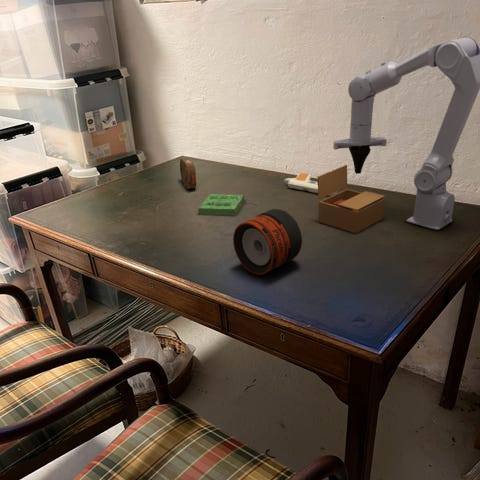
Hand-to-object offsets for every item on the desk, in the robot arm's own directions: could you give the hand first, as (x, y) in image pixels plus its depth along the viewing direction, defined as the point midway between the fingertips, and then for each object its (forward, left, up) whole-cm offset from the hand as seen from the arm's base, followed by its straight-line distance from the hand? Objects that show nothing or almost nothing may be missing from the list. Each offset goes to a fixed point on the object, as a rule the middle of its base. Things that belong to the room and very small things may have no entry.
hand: (357, 172), depth 147 cm
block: (-3, +10, -9) cm, 14 cm away
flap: (+1, +10, 0) cm, 11 cm away
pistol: (+20, -5, -10) cm, 22 cm away
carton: (-6, +10, -10) cm, 15 cm away
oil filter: (-7, +44, -10) cm, 46 cm away
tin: (+56, +19, -10) cm, 60 cm away
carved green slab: (+31, +26, -10) cm, 42 cm away
